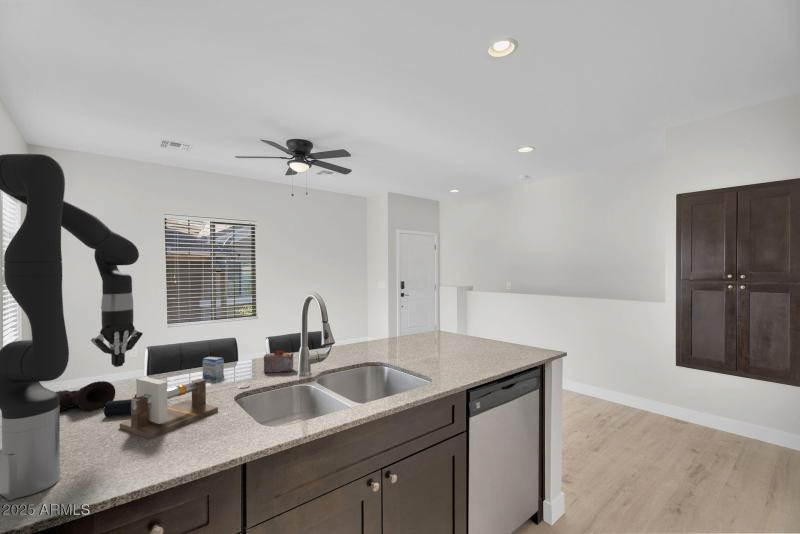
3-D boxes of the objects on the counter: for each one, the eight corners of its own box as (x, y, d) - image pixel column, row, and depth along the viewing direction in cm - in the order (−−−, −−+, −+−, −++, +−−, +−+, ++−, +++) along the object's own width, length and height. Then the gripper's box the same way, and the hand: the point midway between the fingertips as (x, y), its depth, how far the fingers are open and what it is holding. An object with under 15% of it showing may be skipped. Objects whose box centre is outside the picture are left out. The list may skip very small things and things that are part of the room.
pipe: (43, 389, 126) (63, 388, 119) (95, 379, 139) (115, 378, 132) (43, 418, 124) (63, 418, 118) (96, 405, 138) (116, 405, 131)
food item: (294, 368, 177) (294, 348, 177) (292, 372, 169) (292, 351, 169) (265, 369, 175) (265, 349, 174) (262, 374, 167) (262, 353, 167)
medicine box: (202, 377, 162) (202, 358, 162) (210, 374, 166) (210, 356, 166) (216, 379, 160) (216, 359, 160) (224, 376, 164) (223, 357, 164)
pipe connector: (121, 391, 130) (168, 388, 133) (122, 406, 130) (168, 402, 134) (103, 404, 119) (155, 399, 122) (104, 420, 119) (155, 415, 122)
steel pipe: (137, 411, 107) (137, 400, 107) (130, 409, 109) (130, 398, 109) (205, 388, 127) (205, 379, 127) (199, 387, 128) (199, 378, 128)
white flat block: (159, 423, 109) (158, 384, 109) (136, 416, 114) (136, 378, 114) (167, 420, 111) (167, 381, 111) (145, 413, 116) (144, 376, 116)
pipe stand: (149, 438, 104) (149, 404, 104) (119, 428, 112) (119, 395, 112) (217, 411, 124) (217, 382, 124) (188, 403, 131) (188, 376, 131)
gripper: (97, 311, 100) (98, 373, 100) (148, 306, 112) (149, 362, 112) (84, 310, 104) (84, 370, 104) (135, 305, 115) (135, 359, 116)
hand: (118, 366), depth 108 cm, fingers closed
